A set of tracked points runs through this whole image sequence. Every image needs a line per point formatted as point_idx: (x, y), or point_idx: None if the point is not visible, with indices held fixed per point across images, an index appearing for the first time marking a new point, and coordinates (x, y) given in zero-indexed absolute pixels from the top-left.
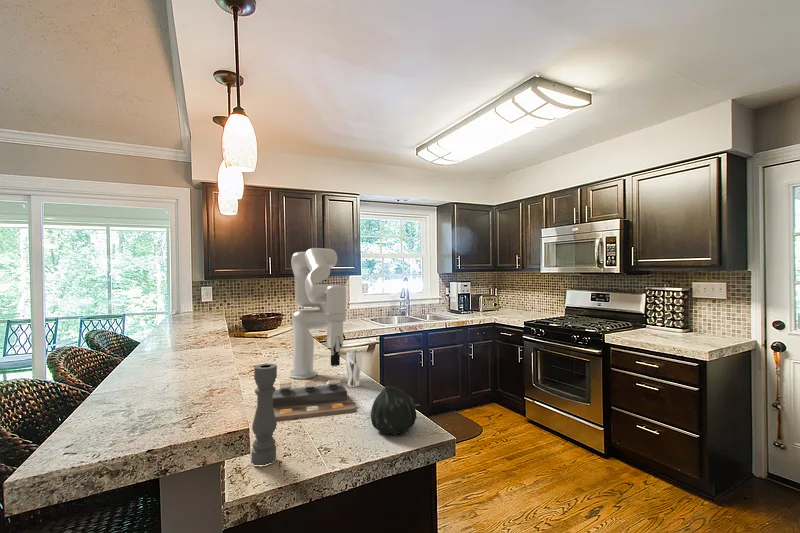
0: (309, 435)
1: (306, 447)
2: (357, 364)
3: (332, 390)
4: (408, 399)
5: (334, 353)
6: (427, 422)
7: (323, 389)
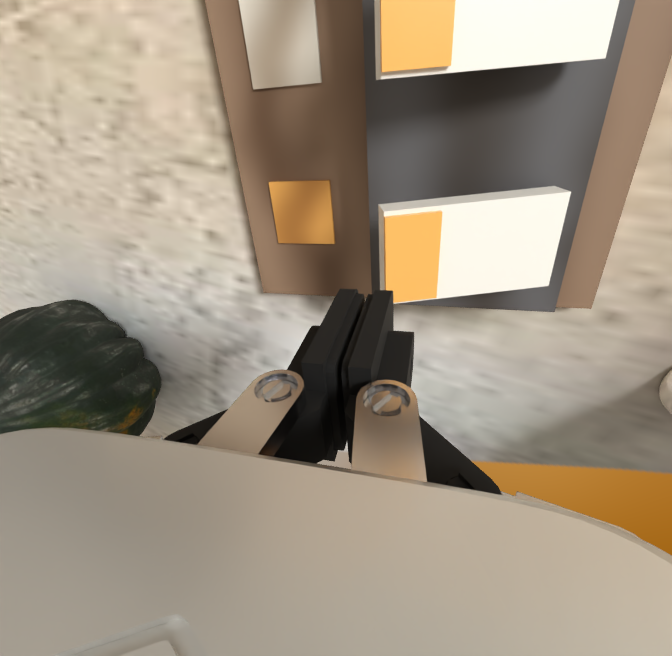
0: (7, 21)
1: None
2: None
3: None
4: None
5: (215, 415)
6: None
7: (474, 150)
